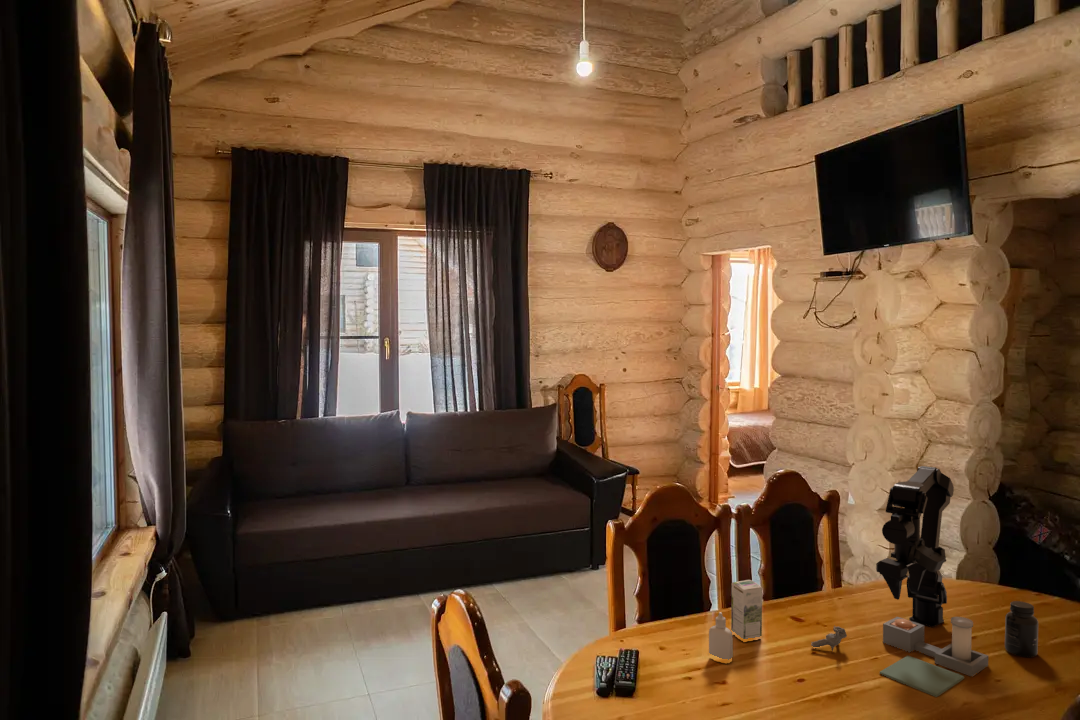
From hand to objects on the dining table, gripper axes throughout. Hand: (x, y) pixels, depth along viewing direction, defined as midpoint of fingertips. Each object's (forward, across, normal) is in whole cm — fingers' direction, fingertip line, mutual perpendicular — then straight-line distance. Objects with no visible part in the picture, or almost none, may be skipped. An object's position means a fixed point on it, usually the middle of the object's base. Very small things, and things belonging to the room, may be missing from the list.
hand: (906, 594), depth 185 cm
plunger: (+13, 0, +1) cm, 13 cm away
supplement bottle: (+13, +18, -19) cm, 30 cm away
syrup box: (+13, -28, +27) cm, 42 cm away
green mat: (+13, -13, -10) cm, 21 cm away
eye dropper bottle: (+13, -43, +23) cm, 51 cm away
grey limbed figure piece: (+13, -18, +10) cm, 24 cm away
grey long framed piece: (+13, 0, -7) cm, 15 cm away
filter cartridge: (+13, 0, -13) cm, 19 cm away
